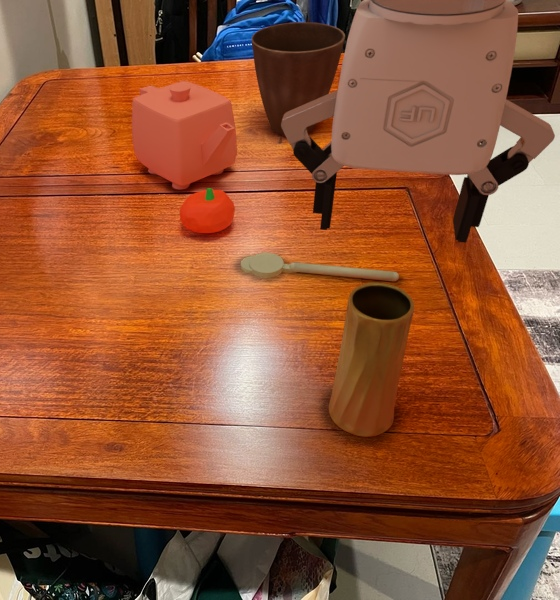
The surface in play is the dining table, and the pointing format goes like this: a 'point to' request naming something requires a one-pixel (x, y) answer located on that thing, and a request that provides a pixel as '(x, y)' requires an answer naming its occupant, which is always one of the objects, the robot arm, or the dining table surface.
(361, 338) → the vase
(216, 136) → the teapot
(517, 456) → the dining table surface
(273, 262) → the spoon
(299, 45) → the flower pot
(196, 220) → the pumpkin
